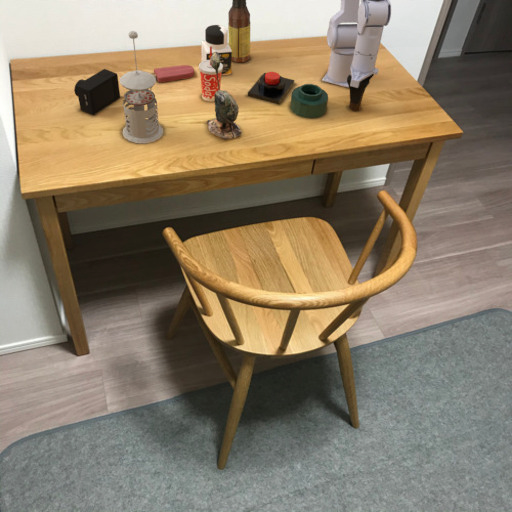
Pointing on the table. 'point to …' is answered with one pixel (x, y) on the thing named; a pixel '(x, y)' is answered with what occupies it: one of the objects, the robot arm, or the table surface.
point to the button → (272, 78)
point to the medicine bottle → (217, 46)
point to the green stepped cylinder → (309, 101)
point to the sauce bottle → (239, 31)
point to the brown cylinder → (355, 105)
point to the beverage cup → (209, 79)
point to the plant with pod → (223, 109)
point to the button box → (271, 90)
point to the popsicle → (173, 73)
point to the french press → (140, 105)
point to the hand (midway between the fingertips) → (356, 99)
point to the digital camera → (97, 91)
